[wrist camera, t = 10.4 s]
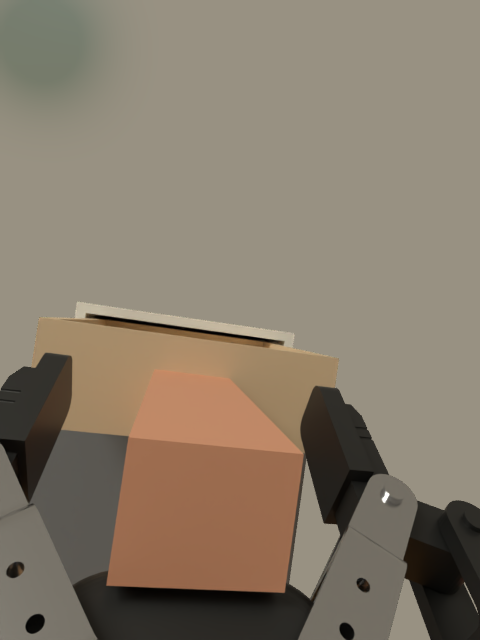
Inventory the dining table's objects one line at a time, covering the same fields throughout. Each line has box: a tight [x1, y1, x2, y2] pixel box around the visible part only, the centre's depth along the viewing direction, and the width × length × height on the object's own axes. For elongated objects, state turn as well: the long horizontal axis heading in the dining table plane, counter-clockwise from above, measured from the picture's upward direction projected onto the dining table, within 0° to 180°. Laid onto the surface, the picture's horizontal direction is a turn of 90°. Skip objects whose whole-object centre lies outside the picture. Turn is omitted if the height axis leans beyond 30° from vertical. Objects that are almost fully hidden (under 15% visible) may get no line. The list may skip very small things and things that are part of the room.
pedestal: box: [29, 430, 306, 585], centre depth 33 cm, size 18×14×30 cm
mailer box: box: [75, 302, 295, 348], centre depth 33 cm, size 14×14×6 cm
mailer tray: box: [31, 317, 339, 593], centre depth 18 cm, size 12×22×4 cm, turn 9°
